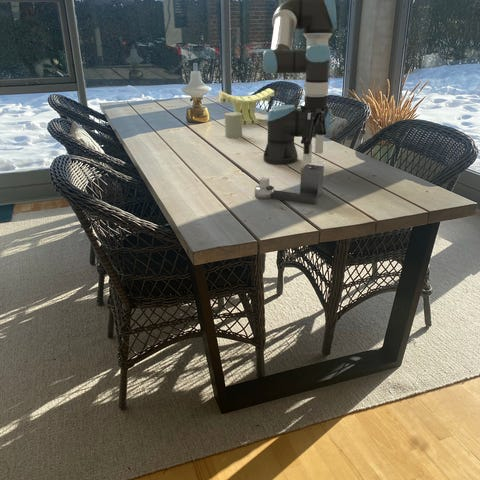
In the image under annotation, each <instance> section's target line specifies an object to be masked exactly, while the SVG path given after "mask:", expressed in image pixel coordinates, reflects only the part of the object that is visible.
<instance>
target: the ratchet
mask: <svg viewBox="0 0 480 480" xmlns="http://www.w3.org/2000/svg"><path fill="white" fill-rule="evenodd" d="M254 197H255V198H256V199H257V200H270V199H273V200H279V201H286V202H292V201H293V203H294V202H295V203H299V202H300V203H302V204H305V205H306V204H307V205H313V206H314V205H315V204H317V200H318V198H317V196H313V195H306V194H300V192H299V193H298V192H292V191H291V192H290V191H283V190H282V191H281V190H275V187H274V186H272V185H271V184H270V178H269V177H264V176H263V177H261V178H259V185H256V186H255V187H254Z"/></svg>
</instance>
